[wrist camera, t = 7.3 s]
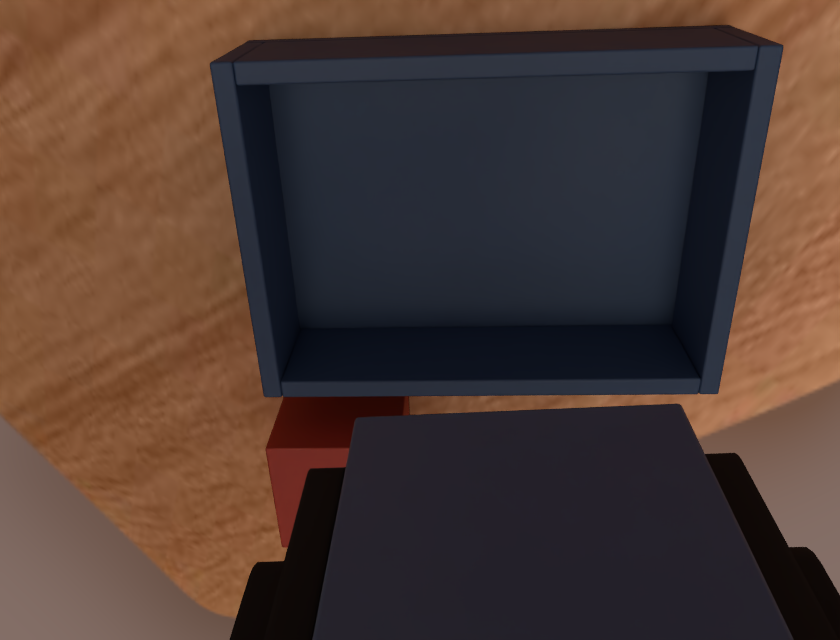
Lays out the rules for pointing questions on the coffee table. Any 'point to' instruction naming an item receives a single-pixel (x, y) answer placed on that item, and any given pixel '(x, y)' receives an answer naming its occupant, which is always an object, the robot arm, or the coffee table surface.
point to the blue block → (539, 532)
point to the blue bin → (495, 207)
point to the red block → (315, 443)
